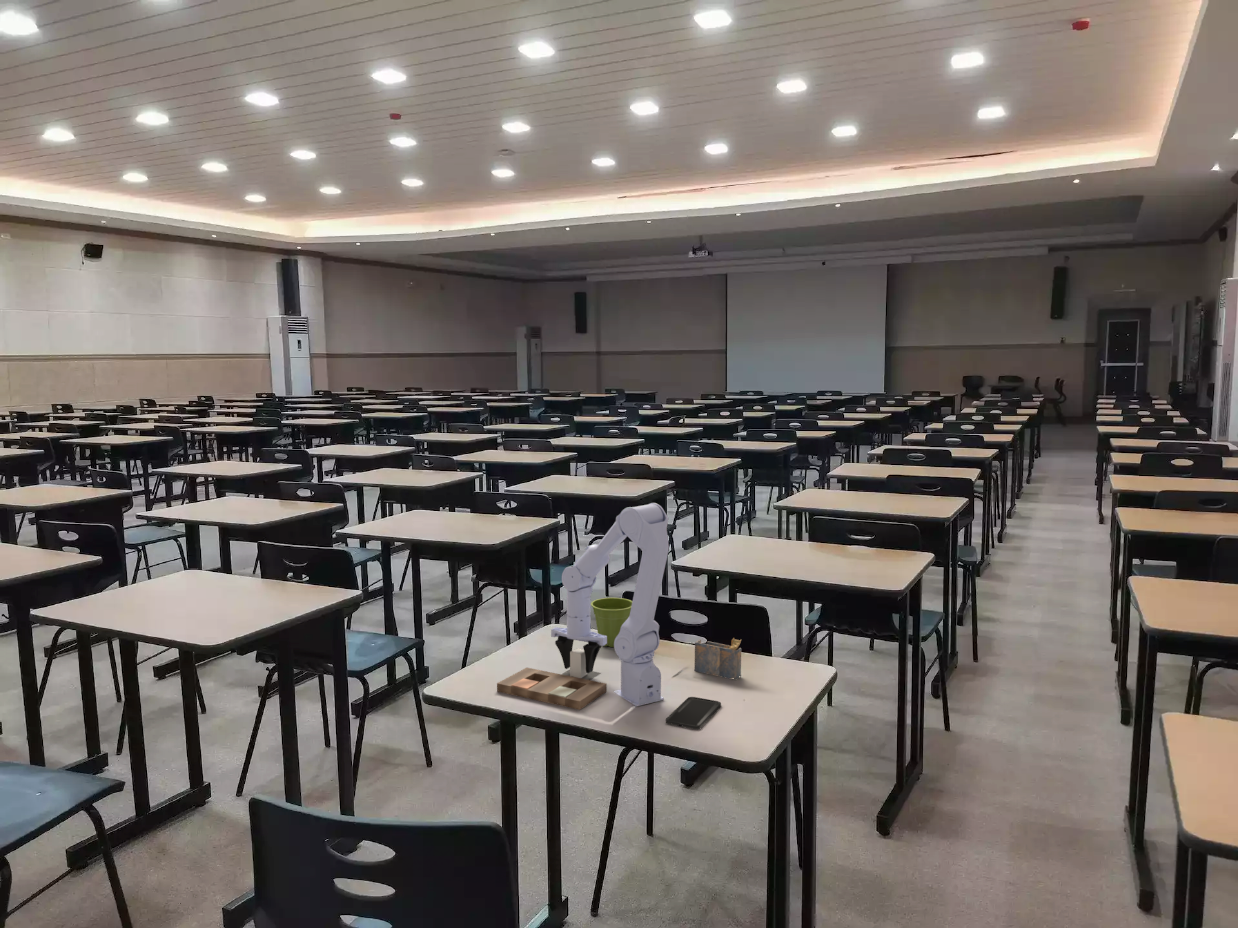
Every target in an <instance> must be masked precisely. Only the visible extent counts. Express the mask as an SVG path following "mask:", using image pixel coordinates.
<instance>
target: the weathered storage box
mask: <svg viewBox="0 0 1238 928" xmlns="http://www.w3.org/2000/svg"><path fill="white" fill-rule="evenodd" d="M741 642H742V639H740V640H739V639H735V637H733V638H732V639H731V643H730V644H731V645H729V644H723V643H719V642H715V641H714V642H712V641H707V642H706V643H704V642H703V643H702V640H701V639H698V640H697V641H695V642H694V672H699V673H703V674H707V675H712V676H717V677H720V676H722V677H721V678H725V677H726V679H729V678H734V679H737V678H738V679H740V678H739V676H741V675H742V674H741V673H742V648H741V647H739V646H740V645H741ZM741 677H742V676H741ZM734 679H733V680H734ZM738 679H737V680H738Z"/></svg>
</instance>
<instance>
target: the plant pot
mask: <svg viewBox="0 0 1238 928" xmlns="http://www.w3.org/2000/svg"><path fill="white" fill-rule="evenodd" d="M632 601H633V600H631V599H627V598H622V597H605V598H597V599H595V600H593V601H592V600H591V607H592V610H593V615H594V616H595V617H594V618H595V624H596V630H597V633H598V634H601V635H605V636H607V644H606V645H604V646H603V647H607V646H608V647H610V648H614V641H615V638H616V637H617V635H618V634H619V632H620V629H621V626H622V625H623V623H624V622H625V621H626V620H627V619H628V617H629V616H630V611H631V606H632Z"/></svg>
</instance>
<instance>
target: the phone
mask: <svg viewBox="0 0 1238 928" xmlns="http://www.w3.org/2000/svg"><path fill="white" fill-rule="evenodd" d="M721 707H722V703H721V701H718V700H713V699H709V698H703V697H702V698H701V697H696V696H688V697H687V698H686V699H685V700H684V701H683V702H682V703H681V704H680V705H679V706H678V707H676V709H674V710H673V712H671V713H670V714H669V715H668V716H667V717H666V718H665V724H667V725H668V726H672V727H673V726H674V727H679V728H683V729H689V730H694V731H698V730H701V729H702V728H703V727H704V725H706V724H707V722H709V721H710V719H712V718H713V716H714V715H715V714H716V713H717V710H718V709H721ZM718 711H719V710H718ZM700 728H701V729H700Z"/></svg>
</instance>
